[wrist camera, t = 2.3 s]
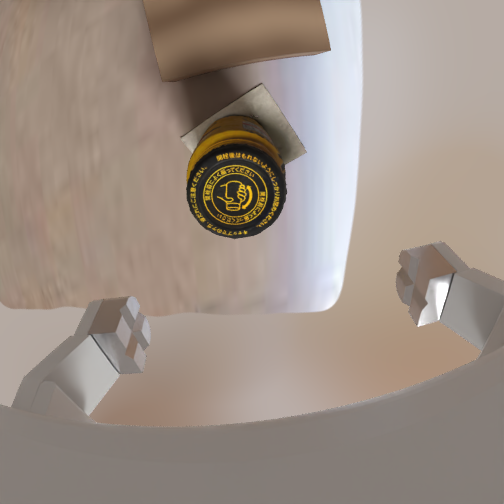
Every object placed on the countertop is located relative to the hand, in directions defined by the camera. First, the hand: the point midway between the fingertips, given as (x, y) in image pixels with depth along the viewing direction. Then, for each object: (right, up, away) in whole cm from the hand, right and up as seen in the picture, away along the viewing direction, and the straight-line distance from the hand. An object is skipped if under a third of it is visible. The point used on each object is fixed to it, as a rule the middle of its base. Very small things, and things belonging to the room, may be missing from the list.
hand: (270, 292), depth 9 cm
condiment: (-1, +11, +16) cm, 20 cm away
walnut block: (-2, +22, +10) cm, 24 cm away
